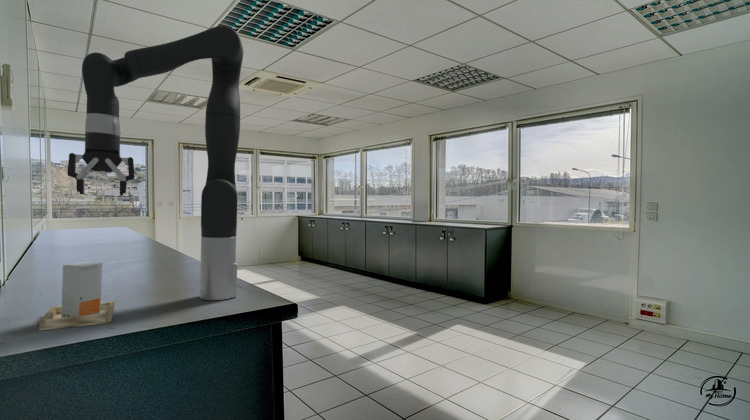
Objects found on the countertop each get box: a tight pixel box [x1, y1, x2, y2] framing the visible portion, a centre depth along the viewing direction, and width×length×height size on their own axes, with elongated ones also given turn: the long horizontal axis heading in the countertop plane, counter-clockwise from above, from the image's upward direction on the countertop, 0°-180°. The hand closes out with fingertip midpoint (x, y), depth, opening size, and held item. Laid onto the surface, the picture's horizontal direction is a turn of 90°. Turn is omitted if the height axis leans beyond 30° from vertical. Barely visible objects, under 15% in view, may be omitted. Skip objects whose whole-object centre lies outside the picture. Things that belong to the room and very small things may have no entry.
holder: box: [38, 300, 116, 331], centre depth 86 cm, size 12×12×2 cm
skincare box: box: [61, 260, 103, 318], centre depth 86 cm, size 6×4×12 cm
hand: (102, 195), depth 101 cm, fingers open, 8 cm apart
